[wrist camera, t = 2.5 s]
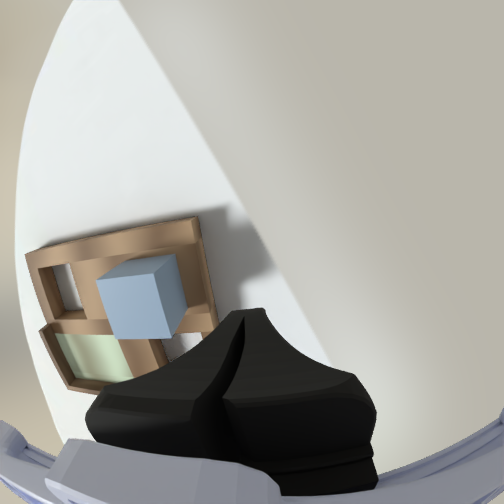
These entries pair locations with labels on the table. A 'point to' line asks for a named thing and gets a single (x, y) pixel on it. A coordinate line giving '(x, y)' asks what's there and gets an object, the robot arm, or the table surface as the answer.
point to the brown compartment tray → (94, 316)
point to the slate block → (143, 298)
